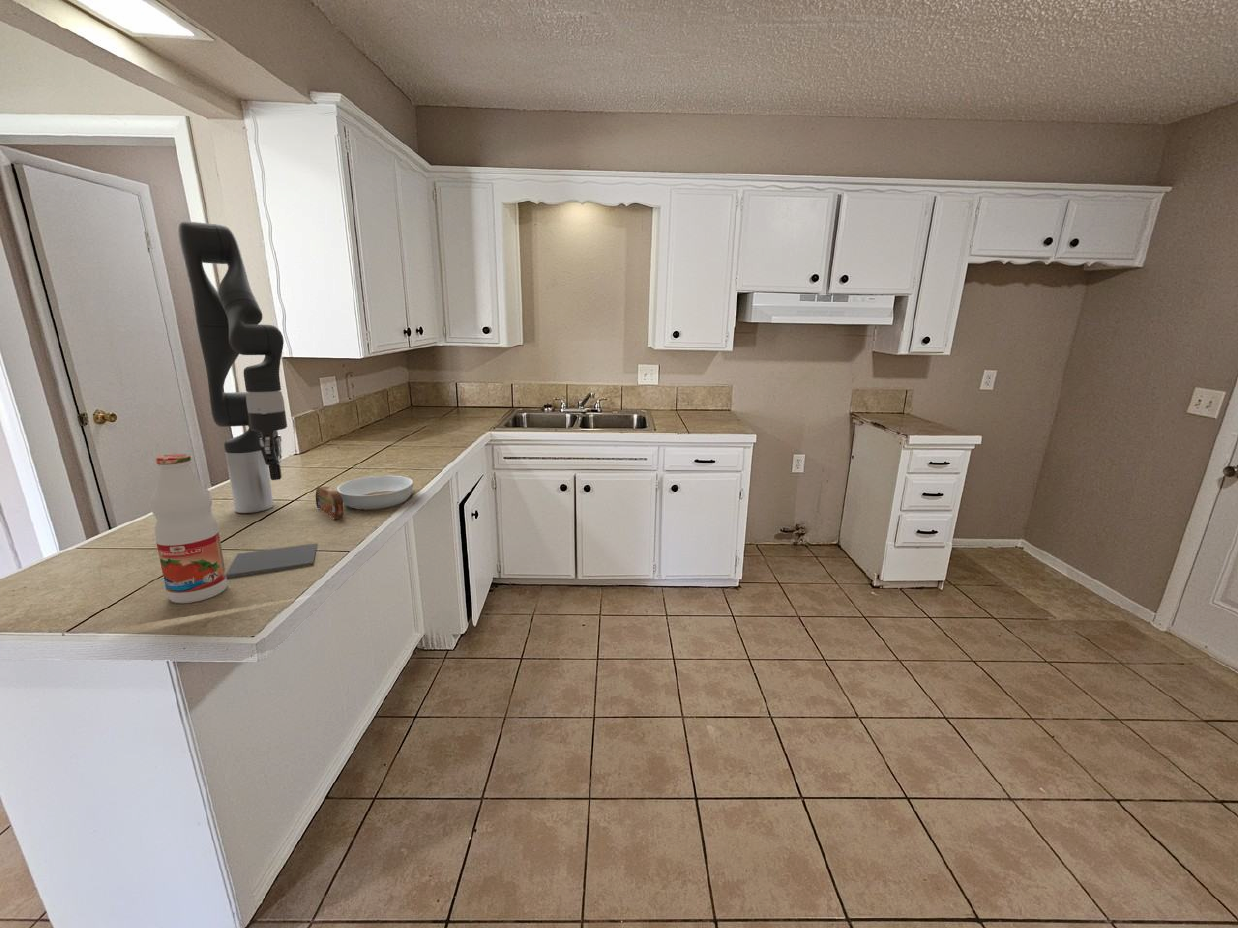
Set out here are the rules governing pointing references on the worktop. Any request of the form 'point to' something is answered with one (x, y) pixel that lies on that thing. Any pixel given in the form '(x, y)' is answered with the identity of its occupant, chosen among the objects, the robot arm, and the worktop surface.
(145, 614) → the worktop surface
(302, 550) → the mat
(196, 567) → the fruit juice
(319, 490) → the tin
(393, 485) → the serving bowl
